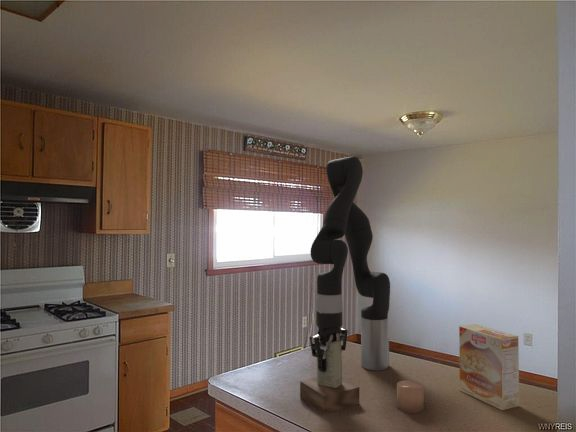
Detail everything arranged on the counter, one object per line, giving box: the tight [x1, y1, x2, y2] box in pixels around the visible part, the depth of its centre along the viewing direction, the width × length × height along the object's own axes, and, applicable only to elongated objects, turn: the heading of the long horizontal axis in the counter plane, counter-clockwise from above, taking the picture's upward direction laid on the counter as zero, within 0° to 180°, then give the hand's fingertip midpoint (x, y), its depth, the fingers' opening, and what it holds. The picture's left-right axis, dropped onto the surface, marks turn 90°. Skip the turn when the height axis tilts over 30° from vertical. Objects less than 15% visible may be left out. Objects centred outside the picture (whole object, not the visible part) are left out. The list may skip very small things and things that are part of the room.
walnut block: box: [299, 377, 360, 414], centre depth 117 cm, size 12×12×5 cm
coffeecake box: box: [458, 323, 520, 411], centre depth 119 cm, size 15×7×20 cm, turn 23°
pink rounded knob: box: [396, 380, 425, 414], centre depth 113 cm, size 7×7×6 cm
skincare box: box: [316, 341, 343, 388], centre depth 118 cm, size 6×4×12 cm
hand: (329, 368), depth 118 cm, fingers open, 5 cm apart
